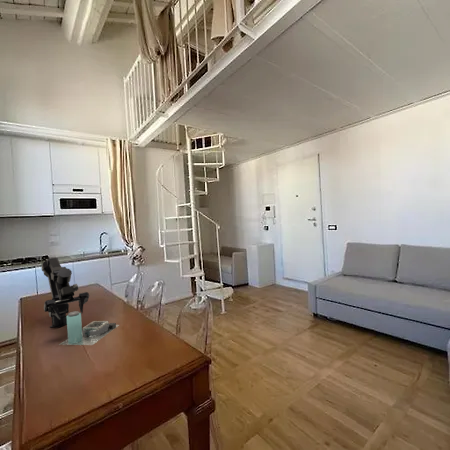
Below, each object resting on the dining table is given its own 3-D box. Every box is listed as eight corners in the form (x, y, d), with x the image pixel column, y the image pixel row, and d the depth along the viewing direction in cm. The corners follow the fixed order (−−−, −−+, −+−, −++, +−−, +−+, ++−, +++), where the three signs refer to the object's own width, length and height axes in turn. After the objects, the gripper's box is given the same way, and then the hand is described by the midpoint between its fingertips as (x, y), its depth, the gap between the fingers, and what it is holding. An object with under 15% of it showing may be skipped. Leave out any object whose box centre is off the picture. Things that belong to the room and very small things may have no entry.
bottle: (65, 343, 119) (63, 315, 118) (74, 337, 124) (72, 310, 124) (76, 343, 118) (74, 315, 118) (85, 337, 123) (83, 310, 123)
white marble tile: (58, 346, 118) (57, 336, 118) (90, 326, 140) (89, 318, 140) (92, 347, 115) (92, 336, 115) (119, 326, 137) (119, 317, 137)
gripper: (43, 283, 121) (49, 312, 113) (86, 276, 134) (95, 301, 126) (41, 297, 127) (47, 325, 119) (83, 289, 140) (91, 313, 132)
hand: (71, 316), depth 124 cm, fingers open, 9 cm apart
